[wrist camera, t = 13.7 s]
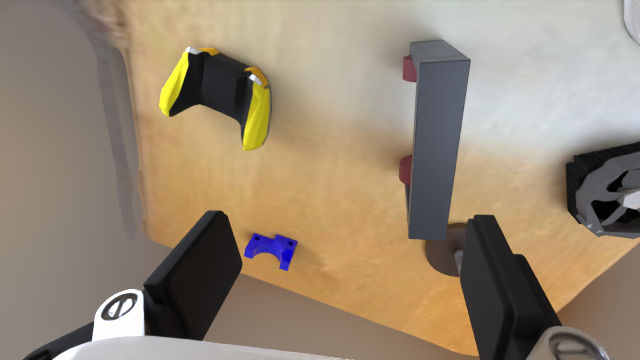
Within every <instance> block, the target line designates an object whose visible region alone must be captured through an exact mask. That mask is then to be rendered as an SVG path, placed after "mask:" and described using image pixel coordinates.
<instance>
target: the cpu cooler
mask: <svg viewBox="0 0 640 360" xmlns="http://www.w3.org/2000/svg"><path fill="white" fill-rule="evenodd" d="M566 168H567V169H566V175H567V176H566V181H567V204H568V207H567V208H568V209H567V210H568V212H569V213H570V214H571V215H572V216H573V217H574V218H575V220H576V221H577V222H578V223H579V224H583V225H584V226H585V227H586V228H587V229H589V230H590V231H591V232H593V233H594V234H595V235H596V236H598V237H600V236H602V235H609V236H616V237H623V238H631V239H635V238H638V237H640V142H637V144H636V143H633V144H632V145H631V144H629V145H623V146H619V147H616V148H615V147H614V148H611V149H610V148H609V149H608V150H607V149H606V150H604V149H603V150H602V151H601V150H600V151H597V152H596V151H595V152H590V153H586V154H581V155H579V156H578V155H577V156H576V155H575V156H574V162H572V163H568V164H566Z"/></svg>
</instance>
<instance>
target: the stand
mask: <svg viewBox="0 0 640 360" xmlns="http://www.w3.org/2000/svg"><path fill="white" fill-rule="evenodd" d="M466 229H467V224H451V225H447V232H446V239H445V241H438V240H427V243H426V256H427V260H428V262H429V263H430V265H431V266H432V267H433V268H434V269H436V270H437V271H439V272H440V273H443V274H445V275H449V276H454V277H460V271H461V264H462V257H463V250H464V243H465V236H466ZM476 345H477V344H476ZM477 349H478V348H477ZM478 353H479V352H478ZM479 357H480V356H479Z"/></svg>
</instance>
